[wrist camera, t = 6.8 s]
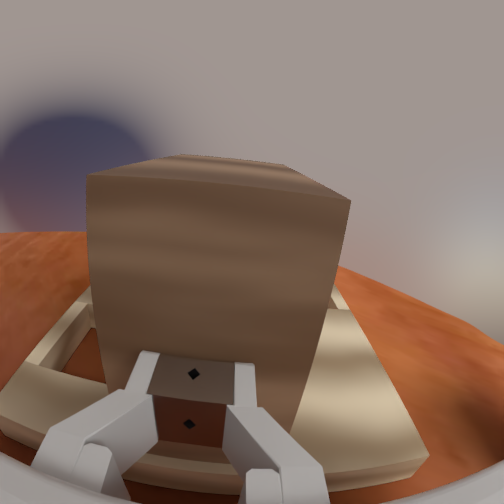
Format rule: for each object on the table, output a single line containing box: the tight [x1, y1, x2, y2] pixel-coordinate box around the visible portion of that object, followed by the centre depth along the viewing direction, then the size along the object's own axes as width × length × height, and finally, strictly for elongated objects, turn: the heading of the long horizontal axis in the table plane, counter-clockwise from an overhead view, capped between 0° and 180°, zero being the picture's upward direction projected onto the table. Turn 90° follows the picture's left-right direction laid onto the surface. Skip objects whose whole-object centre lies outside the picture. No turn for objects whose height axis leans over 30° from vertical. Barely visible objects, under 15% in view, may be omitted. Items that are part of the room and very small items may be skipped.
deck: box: [0, 284, 429, 495], centre depth 22 cm, size 26×20×4 cm
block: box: [86, 154, 351, 464], centre depth 14 cm, size 12×6×10 cm, turn 2°
